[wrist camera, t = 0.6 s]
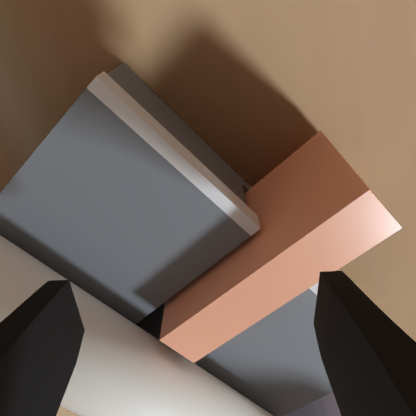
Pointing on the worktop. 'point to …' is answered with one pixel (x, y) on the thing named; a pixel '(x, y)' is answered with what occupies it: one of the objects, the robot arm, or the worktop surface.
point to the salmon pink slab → (280, 248)
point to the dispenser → (146, 261)
